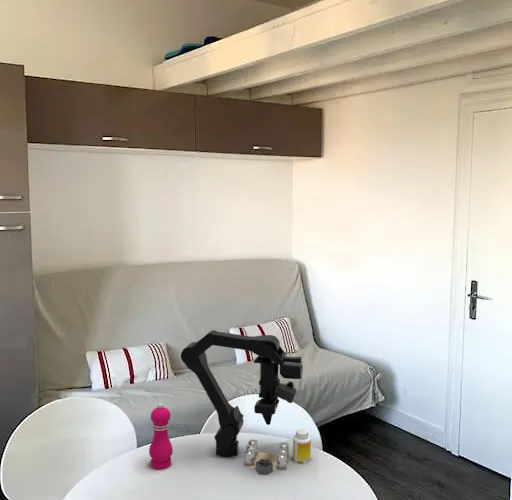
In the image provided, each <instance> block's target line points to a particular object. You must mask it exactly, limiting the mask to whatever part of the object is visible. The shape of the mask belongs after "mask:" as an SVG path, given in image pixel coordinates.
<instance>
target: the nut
mask: <svg viewBox="0 0 512 500" xmlns="http://www.w3.org/2000/svg"><path fill="white" fill-rule="evenodd" d="M255 471H256V472H257V473H258V475H262V476H264V475H265V476H268V475H270V474H272V473H273V471H274V469H273V464H272V462H271V461H270V460H267V459H260V460H259V461H257V462H256V468H255Z"/></svg>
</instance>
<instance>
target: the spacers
mask: <svg viewBox="0 0 512 500" xmlns="http://www.w3.org/2000/svg"><path fill="white" fill-rule="evenodd" d="M258 442H259V441H258V440H257V439H249V440H248V444H247V445H246V450H244V465H246V466H254V464H255V460H256V455H257V454H258V452H259V449H258V448H259V443H258ZM289 446H290V445H289V443H287V442H281V443H279V445H278V447H279V448H278V449H277V450H278V451H277V453H276V454H277V469H279V470H278V471H285V469H286V470H287V468H288V462H289V456H290V453H289V451H290V449H289V448H290V447H289Z"/></svg>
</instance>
